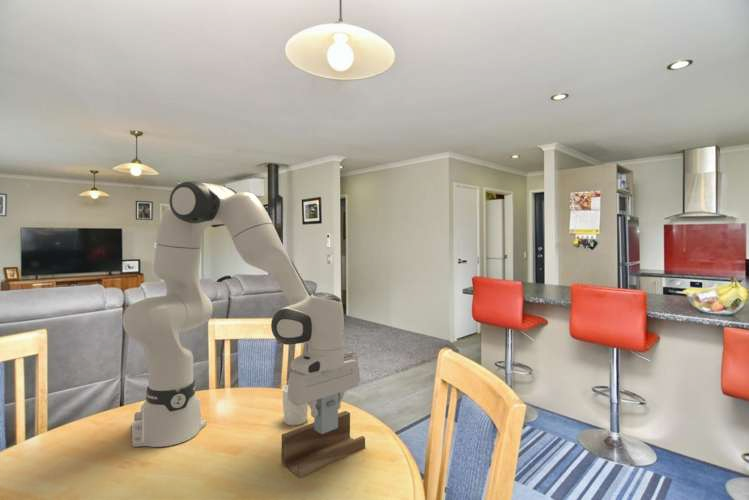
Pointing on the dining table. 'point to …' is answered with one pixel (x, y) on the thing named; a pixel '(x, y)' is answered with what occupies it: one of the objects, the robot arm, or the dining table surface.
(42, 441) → the dining table surface
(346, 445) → the cleat board
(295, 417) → the white cup
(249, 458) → the dining table surface
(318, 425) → the cabinet block
